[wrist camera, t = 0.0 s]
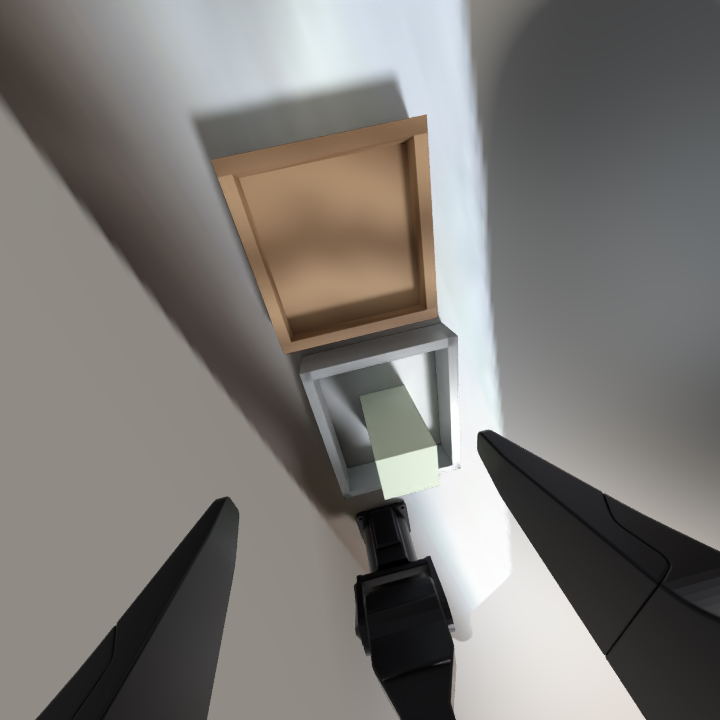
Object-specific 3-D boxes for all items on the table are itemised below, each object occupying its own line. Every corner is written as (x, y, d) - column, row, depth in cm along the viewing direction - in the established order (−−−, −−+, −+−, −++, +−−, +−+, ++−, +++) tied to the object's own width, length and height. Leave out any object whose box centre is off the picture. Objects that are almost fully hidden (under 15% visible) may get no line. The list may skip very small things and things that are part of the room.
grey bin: (447, 447, 31) (460, 468, 29) (341, 474, 31) (344, 498, 28) (441, 322, 24) (457, 335, 21) (301, 356, 23) (299, 374, 21)
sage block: (409, 419, 28) (439, 485, 21) (367, 430, 28) (384, 499, 21) (404, 384, 26) (436, 445, 19) (359, 396, 26) (375, 461, 19)
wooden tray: (426, 307, 23) (438, 317, 21) (287, 340, 22) (284, 354, 20) (412, 127, 17) (426, 114, 15) (224, 167, 17) (211, 159, 14)
